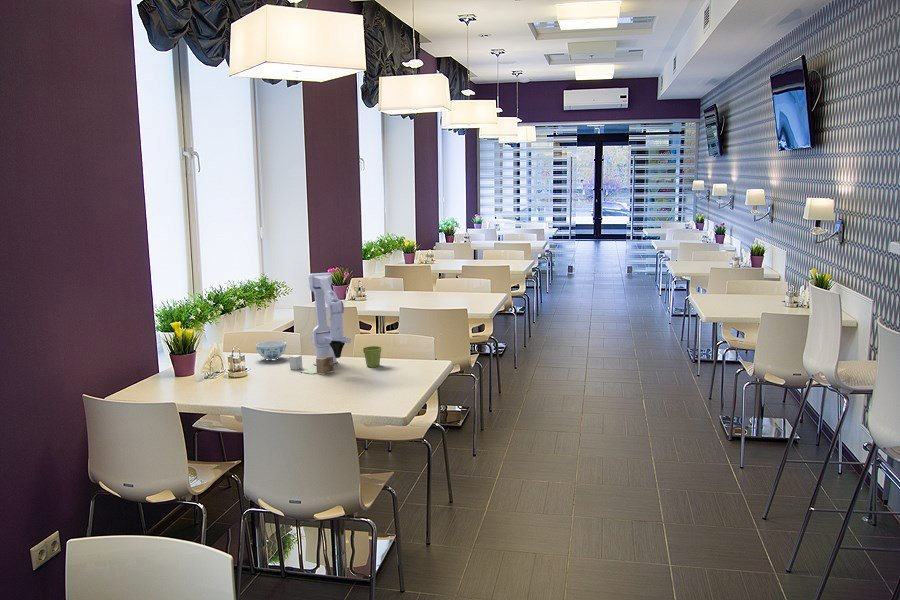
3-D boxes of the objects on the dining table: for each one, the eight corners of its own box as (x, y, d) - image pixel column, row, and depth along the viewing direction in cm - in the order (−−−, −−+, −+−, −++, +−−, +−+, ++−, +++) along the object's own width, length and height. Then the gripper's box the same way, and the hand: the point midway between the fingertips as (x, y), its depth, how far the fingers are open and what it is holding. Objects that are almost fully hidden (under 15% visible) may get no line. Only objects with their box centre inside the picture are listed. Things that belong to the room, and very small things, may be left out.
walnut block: (327, 370, 364) (326, 355, 363) (333, 371, 362) (332, 356, 361) (316, 373, 358) (316, 358, 357) (323, 374, 356) (322, 359, 355)
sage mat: (316, 367, 370) (316, 366, 370) (329, 369, 366) (329, 368, 366) (299, 372, 361) (299, 371, 361) (313, 374, 357) (313, 373, 357)
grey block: (296, 367, 372) (295, 354, 372) (302, 368, 370) (301, 355, 370) (290, 369, 369) (289, 356, 368) (296, 369, 367) (295, 357, 366)
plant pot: (364, 369, 365) (363, 350, 364) (361, 364, 374) (361, 346, 373) (384, 367, 367) (383, 349, 366) (381, 363, 376) (380, 345, 375)
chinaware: (262, 356, 400) (261, 341, 399) (291, 355, 398) (290, 340, 397) (252, 362, 385) (251, 347, 384) (282, 362, 384) (281, 347, 382)
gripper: (318, 328, 353) (319, 357, 355) (343, 330, 346) (344, 360, 348) (328, 325, 359) (330, 354, 361) (353, 327, 352) (354, 357, 353)
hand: (337, 357), depth 355 cm, fingers closed
